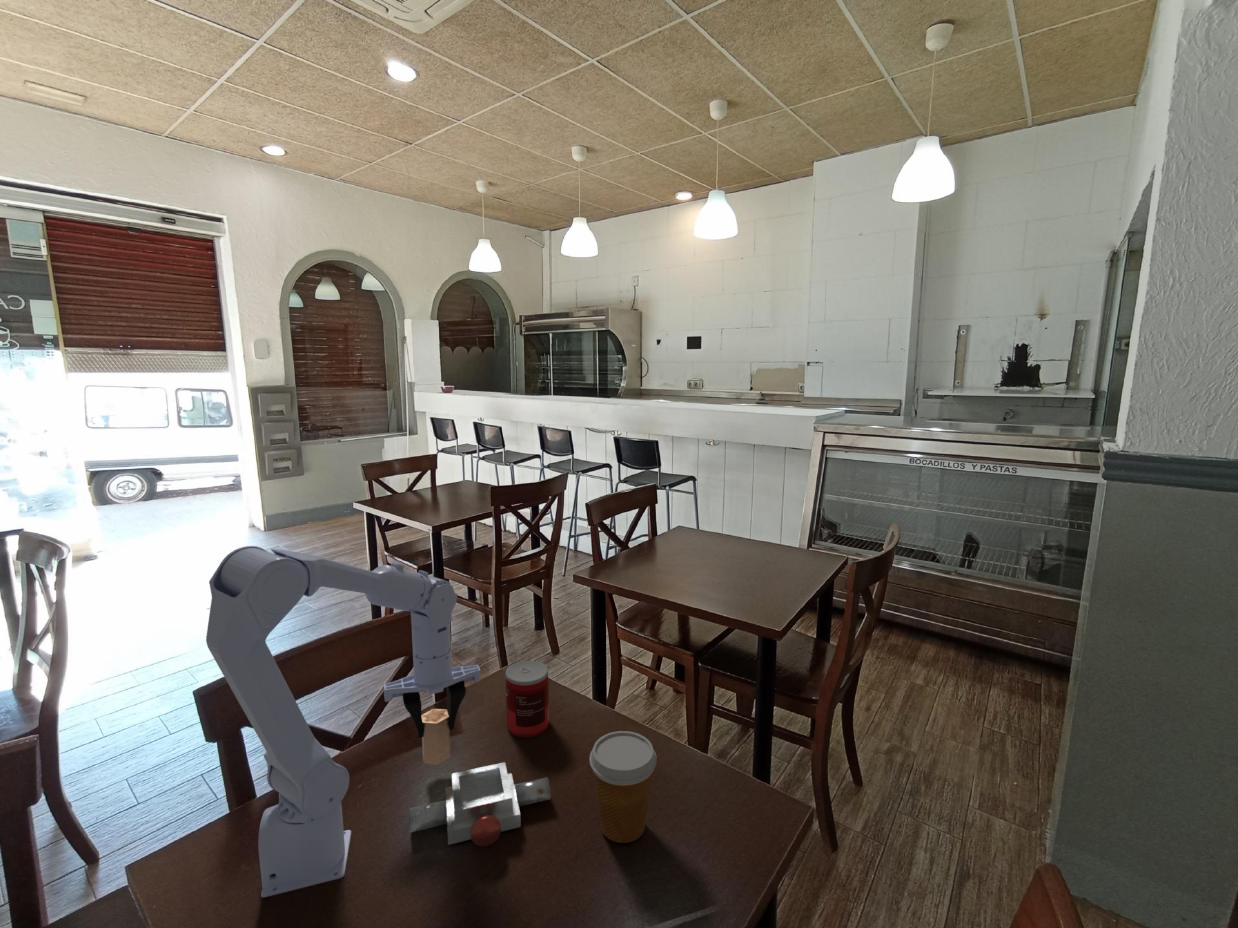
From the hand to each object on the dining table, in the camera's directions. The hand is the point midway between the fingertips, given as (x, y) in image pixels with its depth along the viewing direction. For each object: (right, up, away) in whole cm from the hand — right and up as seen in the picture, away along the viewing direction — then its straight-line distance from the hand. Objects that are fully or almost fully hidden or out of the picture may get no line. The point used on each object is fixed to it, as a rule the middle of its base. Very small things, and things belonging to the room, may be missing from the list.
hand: (435, 730), depth 91 cm
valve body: (+10, -9, -8) cm, 16 cm away
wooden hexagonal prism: (0, -5, +1) cm, 5 cm away
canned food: (+13, -6, +14) cm, 20 cm away
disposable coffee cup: (+30, -9, -10) cm, 33 cm away
